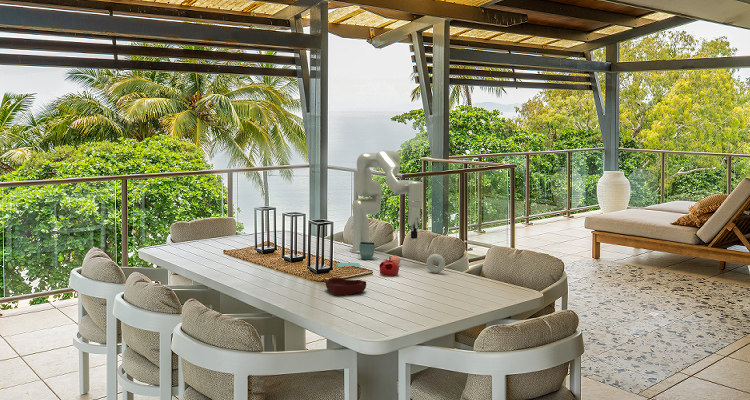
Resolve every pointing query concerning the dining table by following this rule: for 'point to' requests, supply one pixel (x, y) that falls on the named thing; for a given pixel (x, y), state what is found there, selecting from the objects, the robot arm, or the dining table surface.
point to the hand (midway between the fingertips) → (414, 238)
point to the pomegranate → (389, 268)
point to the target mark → (349, 264)
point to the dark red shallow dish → (345, 286)
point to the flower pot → (367, 250)
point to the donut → (440, 261)
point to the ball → (396, 259)
